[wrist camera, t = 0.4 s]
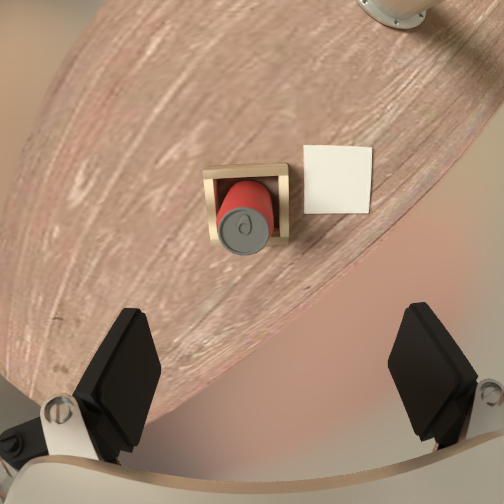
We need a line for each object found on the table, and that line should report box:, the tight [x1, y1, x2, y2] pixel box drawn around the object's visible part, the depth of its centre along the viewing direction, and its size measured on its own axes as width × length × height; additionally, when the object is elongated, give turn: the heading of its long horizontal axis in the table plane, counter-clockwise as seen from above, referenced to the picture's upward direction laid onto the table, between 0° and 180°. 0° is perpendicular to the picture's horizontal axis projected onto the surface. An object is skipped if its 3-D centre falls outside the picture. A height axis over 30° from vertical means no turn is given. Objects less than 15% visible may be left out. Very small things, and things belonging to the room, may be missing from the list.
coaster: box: [303, 145, 372, 214], centre depth 39 cm, size 10×10×1 cm
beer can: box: [216, 180, 274, 255], centre depth 36 cm, size 7×7×12 cm
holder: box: [203, 163, 289, 247], centre depth 40 cm, size 11×11×4 cm
